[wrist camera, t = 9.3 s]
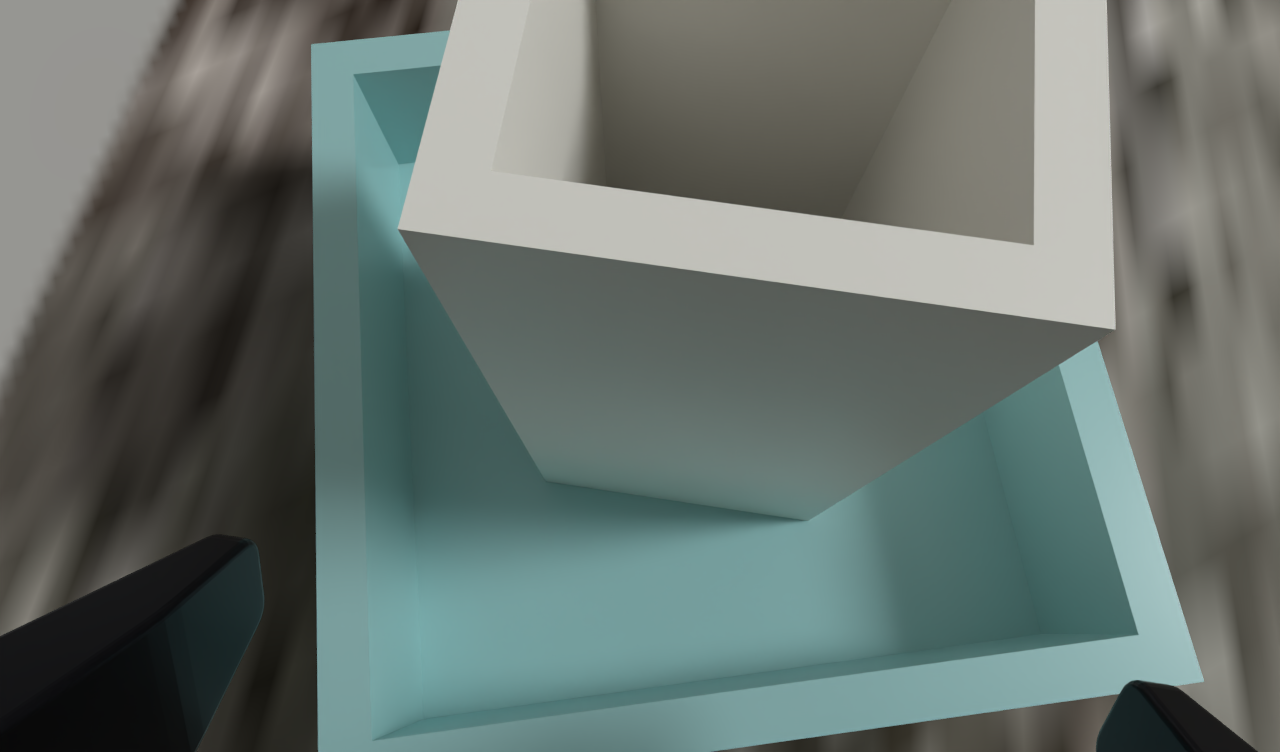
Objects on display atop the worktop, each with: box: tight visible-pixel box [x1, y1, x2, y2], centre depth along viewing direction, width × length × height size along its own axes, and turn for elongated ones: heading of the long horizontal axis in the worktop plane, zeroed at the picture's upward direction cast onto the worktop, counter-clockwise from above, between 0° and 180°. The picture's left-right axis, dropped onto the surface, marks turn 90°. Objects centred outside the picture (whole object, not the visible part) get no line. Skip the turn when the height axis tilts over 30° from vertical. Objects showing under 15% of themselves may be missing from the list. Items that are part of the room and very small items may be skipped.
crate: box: [311, 31, 1204, 752], centre depth 16 cm, size 14×14×4 cm
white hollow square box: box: [398, 0, 1116, 521], centre depth 12 cm, size 5×5×11 cm
